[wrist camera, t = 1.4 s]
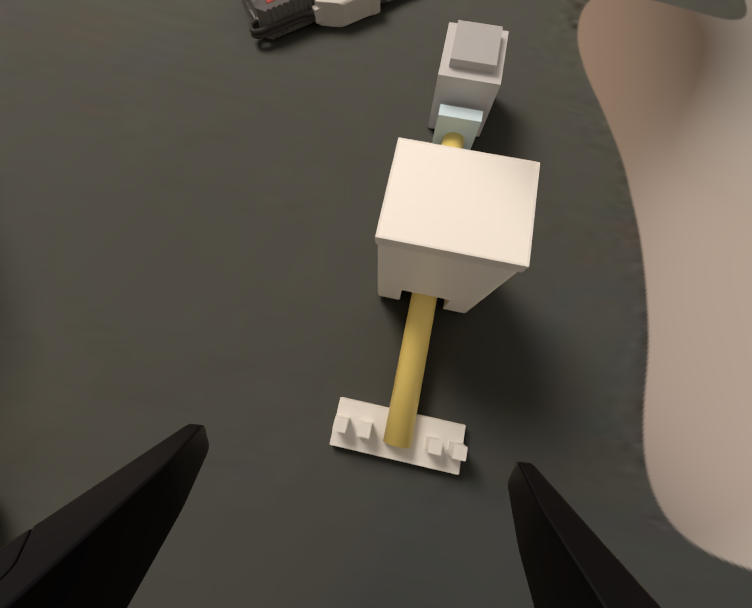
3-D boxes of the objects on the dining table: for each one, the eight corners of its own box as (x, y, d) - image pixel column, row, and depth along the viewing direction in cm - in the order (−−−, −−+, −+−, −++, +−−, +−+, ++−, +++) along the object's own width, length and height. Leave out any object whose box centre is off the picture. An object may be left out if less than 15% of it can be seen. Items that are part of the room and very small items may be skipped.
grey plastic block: (476, 154, 26) (500, 97, 21) (424, 144, 26) (435, 86, 21) (486, 90, 28) (511, 22, 23) (437, 82, 28) (451, 13, 23)
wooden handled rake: (456, 472, 20) (464, 481, 18) (330, 442, 21) (326, 449, 19) (502, 141, 26) (512, 122, 25) (405, 123, 27) (407, 103, 25)
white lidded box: (465, 314, 23) (529, 267, 13) (376, 296, 23) (375, 236, 14) (475, 249, 24) (540, 162, 14) (390, 232, 24) (398, 137, 15)
